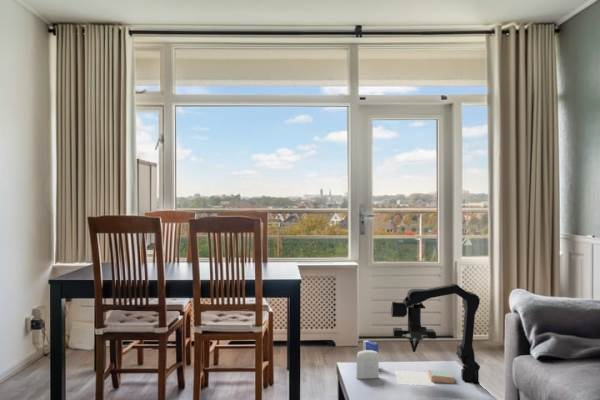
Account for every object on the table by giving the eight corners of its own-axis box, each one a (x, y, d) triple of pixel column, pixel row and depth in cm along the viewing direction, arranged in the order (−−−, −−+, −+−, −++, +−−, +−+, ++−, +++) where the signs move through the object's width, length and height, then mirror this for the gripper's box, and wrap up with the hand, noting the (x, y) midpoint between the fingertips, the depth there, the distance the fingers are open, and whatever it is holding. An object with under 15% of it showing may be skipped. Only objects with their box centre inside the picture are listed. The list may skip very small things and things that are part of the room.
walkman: (378, 367, 215) (378, 343, 215) (374, 369, 213) (374, 344, 214) (366, 363, 221) (366, 339, 221) (362, 364, 219) (362, 340, 220)
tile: (428, 375, 204) (450, 378, 203) (431, 381, 197) (454, 384, 196) (428, 369, 204) (450, 372, 203) (431, 375, 197) (454, 377, 196)
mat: (429, 373, 208) (429, 372, 208) (435, 387, 192) (435, 385, 192) (394, 371, 210) (394, 370, 210) (398, 385, 194) (398, 383, 194)
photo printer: (377, 375, 205) (377, 348, 206) (379, 378, 201) (380, 351, 201) (355, 376, 204) (355, 349, 204) (357, 379, 200) (358, 352, 200)
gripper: (395, 321, 195) (394, 356, 194) (438, 322, 193) (438, 359, 192) (392, 315, 206) (392, 348, 206) (433, 316, 204) (433, 350, 203)
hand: (413, 352), depth 201 cm, fingers closed
